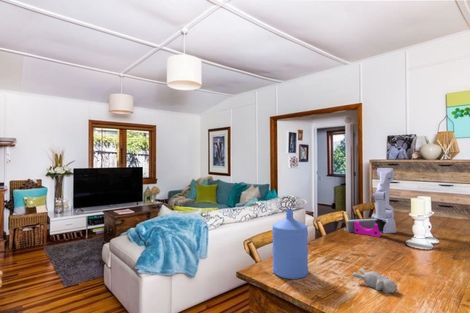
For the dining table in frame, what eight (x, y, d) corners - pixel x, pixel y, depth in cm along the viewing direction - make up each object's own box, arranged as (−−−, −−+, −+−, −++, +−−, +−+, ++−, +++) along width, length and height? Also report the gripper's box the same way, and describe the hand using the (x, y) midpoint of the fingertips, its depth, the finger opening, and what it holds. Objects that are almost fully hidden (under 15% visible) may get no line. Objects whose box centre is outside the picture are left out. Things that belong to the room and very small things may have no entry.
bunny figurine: (390, 287, 98) (351, 269, 109) (388, 300, 98) (350, 281, 110) (401, 279, 103) (362, 263, 115) (399, 292, 104) (361, 274, 116)
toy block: (381, 235, 177) (381, 223, 177) (379, 237, 172) (379, 225, 172) (357, 231, 186) (357, 220, 187) (354, 233, 182) (354, 221, 182)
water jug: (301, 283, 109) (301, 214, 110) (266, 274, 118) (266, 210, 118) (312, 269, 123) (312, 208, 123) (280, 262, 131) (280, 205, 131)
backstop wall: (371, 228, 193) (371, 217, 193) (377, 230, 187) (377, 219, 187) (343, 230, 190) (343, 219, 190) (348, 232, 184) (348, 221, 184)
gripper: (367, 208, 178) (367, 228, 177) (383, 212, 163) (383, 234, 163) (377, 208, 179) (377, 228, 179) (393, 212, 165) (393, 234, 164)
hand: (380, 231), depth 171 cm, fingers closed
